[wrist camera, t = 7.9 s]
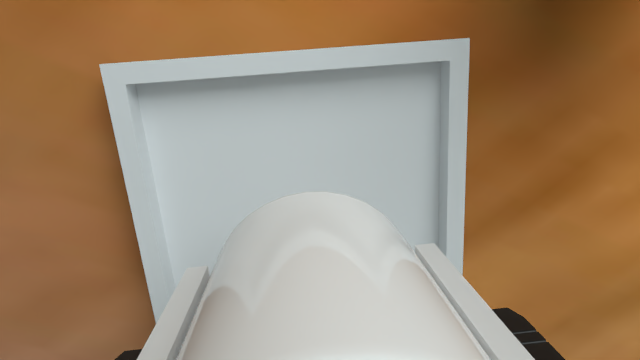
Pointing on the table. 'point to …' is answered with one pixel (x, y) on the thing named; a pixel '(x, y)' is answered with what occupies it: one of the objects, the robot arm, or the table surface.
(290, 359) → the pill bottle
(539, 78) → the table surface
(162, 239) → the tray
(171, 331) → the robot arm
